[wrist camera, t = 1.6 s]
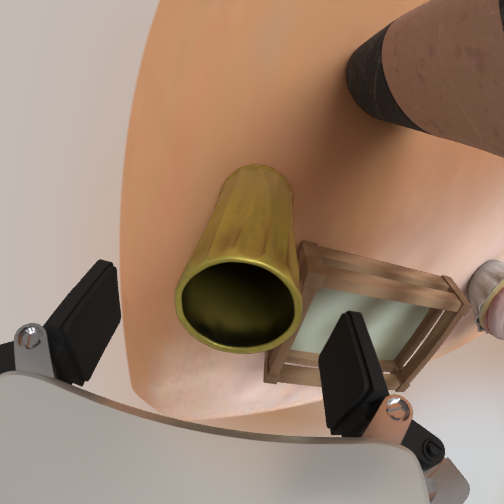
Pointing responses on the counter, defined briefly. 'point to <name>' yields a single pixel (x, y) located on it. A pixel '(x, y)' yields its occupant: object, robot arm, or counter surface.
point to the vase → (244, 268)
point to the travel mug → (437, 72)
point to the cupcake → (488, 298)
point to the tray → (366, 314)
